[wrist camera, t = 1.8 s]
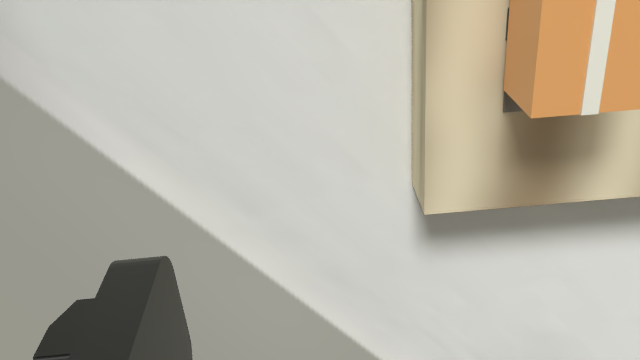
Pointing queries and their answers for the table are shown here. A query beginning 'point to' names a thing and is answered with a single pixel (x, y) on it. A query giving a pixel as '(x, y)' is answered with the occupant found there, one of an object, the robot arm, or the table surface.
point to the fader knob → (573, 56)
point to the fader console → (501, 124)
